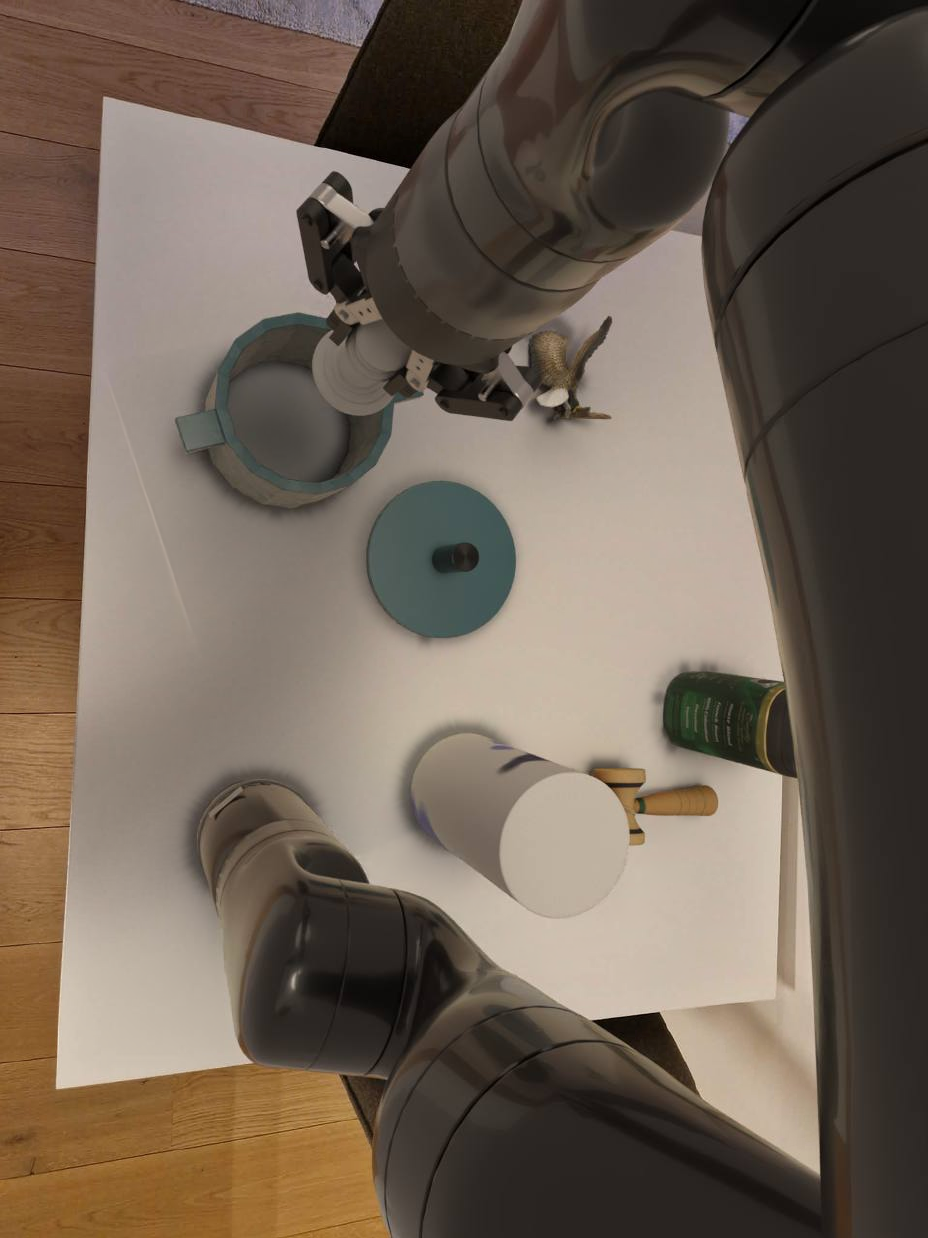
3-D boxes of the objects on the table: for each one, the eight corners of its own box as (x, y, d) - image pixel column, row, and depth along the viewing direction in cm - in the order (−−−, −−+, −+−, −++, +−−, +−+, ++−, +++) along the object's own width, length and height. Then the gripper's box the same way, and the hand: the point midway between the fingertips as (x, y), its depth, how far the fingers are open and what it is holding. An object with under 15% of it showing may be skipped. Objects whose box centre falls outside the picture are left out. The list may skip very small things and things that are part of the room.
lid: (527, 610, 81) (559, 611, 75) (391, 658, 76) (413, 662, 70) (487, 465, 79) (516, 455, 73) (345, 505, 74) (363, 497, 69)
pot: (404, 477, 76) (446, 459, 66) (198, 534, 70) (210, 523, 60) (362, 332, 75) (398, 292, 65) (147, 377, 69) (151, 340, 59)
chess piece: (294, 385, 52) (329, 345, 43) (336, 309, 52) (378, 255, 44) (372, 434, 53) (420, 404, 45) (411, 359, 54) (465, 317, 46)
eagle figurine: (613, 419, 82) (616, 318, 80) (610, 419, 75) (613, 308, 73) (531, 419, 84) (533, 320, 82) (521, 420, 77) (522, 311, 75)
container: (518, 734, 81) (637, 775, 62) (508, 844, 80) (624, 917, 62) (414, 729, 77) (508, 771, 58) (403, 844, 77) (494, 922, 58)
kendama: (689, 748, 89) (541, 757, 80) (736, 771, 83) (582, 782, 75) (677, 821, 90) (529, 837, 81) (721, 847, 85) (569, 867, 76)
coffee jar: (656, 749, 86) (791, 787, 69) (662, 668, 86) (798, 686, 69) (737, 751, 90) (885, 787, 72) (743, 673, 90) (892, 691, 72)
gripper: (281, 156, 30) (226, 311, 46) (565, 438, 34) (424, 490, 50) (412, 17, 32) (315, 213, 48) (669, 302, 36) (500, 395, 52)
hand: (371, 355), depth 49 cm, fingers closed on chess piece, 3 cm apart
